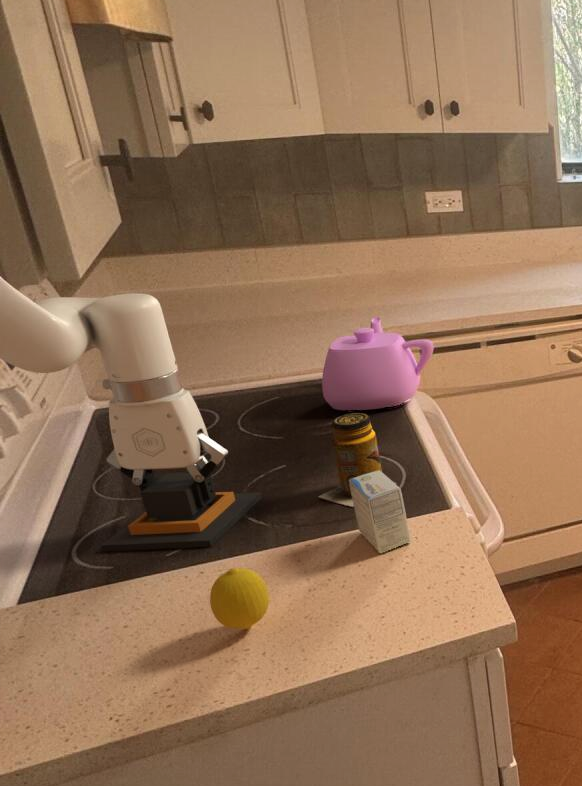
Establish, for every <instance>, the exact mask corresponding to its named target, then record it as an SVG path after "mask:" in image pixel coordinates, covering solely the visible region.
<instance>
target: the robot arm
mask: <svg viewBox="0 0 582 786" xmlns="http://www.w3.org/2000/svg"><path fill="white" fill-rule="evenodd" d="M168 331H169V330H168V327H167V324H166V320H165V316H164V313H163V309H162V306H161V304H160V302H159V300H158V299H157V298H156V297H155V296H154V295H151V294H148V293H141V292H140V293H138V292H136V293H133V292H132V293H122V294H114V295H109V296H104V297H75V296H74V297H71V296H59V297H49V298H48V297H47V298H44V299H41V300H38V301H36V302H34V301H33V300H31V299H30V298H29V297H27V296H26V295H24V294H23V293H22V292H20V291H19V290H18V289H16V288H15V287H14V286H13V285H11V284H10V283H9V282H7V281H6V280H5V279H4V278H3V277H2V276H0V360H2V361H4V362H5V363H7V364H10V365H12V366H13V367H15V368H19V369H21V370H24V371H27V372H31V373H38V374H51V373H52V374H53V373H56V372H60V371H63V370H65V369H68V368H69V367H70V366H73V365H74V364H75V363H76V362H77V361H78V360H79V359H80V358H81V357H82V355H84V354H85V353H87V352H89V351H91V350H93V349H97V350H99V352H100V355H101V358H102V362H103V365H104V368H105V371H106V375H107V379H104V380H102V382H101V384H102V388H103V389H105V390H111V392H112V395H113V398H111V399H110V400H109V401H108V418H109V420H108V421H109V428H110V429H109V430H110V433H111V440H112V443H113V450H112V451H111V453H110V454H109V455H108V456H107V457H106V462H107V463H108V464H110V465H111V466H113V467H114V468H116V469H118V470H120V472H121V473H122V474H123V475H125V476H127V477H128V478H130V479H131V480H132V483H133V484H134V485H137V486H139V489H140V492H142V491H143V490H145V489H146V488H147V487H149V486H150V485H151V484H153V483H154V482H155V481H157V480H158V479H160V478H161V476H159V474H155V470H167V469H168V470H169V469H184V468H185V469H186V471H187V473H190V474H191V476H192V477H193V478H194V480H195V481H194V482H193V483H192V487H193V491H194V494H195V498H196V501H197V505H198V507H199V508H203V507H205V506H206V505H208V504H209V503H210V502H211V501H212V500H213V499H214V498H215V492H216V490H215V487H214V483H213V479H212V474H214V472H215V470H216V469H217V468H218V467H219V466H220V465H221V464H222V462H223V461H224V460H225V459H226V457H227V456H228V455H229V451H228V449H227V448H224V447H223V446H222V445H220V444H219V443H217V442H216V441H215V440H213V439H211V438H210V437H209V434H208V431H207V427H206V425H205V422H204V419H203V417H202V414H201V412H200V410H199V408H198V405H197V403H196V401H195V399H194V397H193V395H192V394H191V393H190V391H189V390H188V389H185V388H184V386H183V382H182V378H181V374H180V371H179V368H178V363H177V360H176V357H175V353H174V350H173V346H172V342H171V339H170V335H169V332H168ZM208 454H209V455H210V458H209V460H208V459H207V458H206V457H205V455H206V456H207V455H208Z"/></svg>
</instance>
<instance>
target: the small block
mask: <svg viewBox="0 0 582 786" xmlns="http://www.w3.org/2000/svg"><path fill="white" fill-rule="evenodd" d="M194 481H195V480H194V478H193V477H192V476H191V474H190V473H189V472H170V473H169V472H167V473H165V474H163V475H162V476H160V479H158V480H157V481H155V482H154V483H153V484H151V485H150V486H149V487H147V488H146V489H145V490H143V491H142V492H141V491H140V492H139V494H140V497H141V500H142V504H143V507H144V511H145V510H146V513H147V516H148V518H158V517H180V516H193V515H195V514H196V513H197V512H198V511H199V510H200V509H202V508H199V507H198V505H197V501H196V498H195V494H194V491H193V487H192V483H193V482H194ZM215 496H216V493H215Z"/></svg>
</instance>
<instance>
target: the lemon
mask: <svg viewBox="0 0 582 786" xmlns="http://www.w3.org/2000/svg"><path fill="white" fill-rule="evenodd" d="M209 597H210V598H209V603H210V604H209V605H210V608H211V612H212V614H213V616H214V618H215V619H216V621H217V622H218V623H219V624H221V625H223V626H224V627H226V628H228V629H232V630H241V629H242V630H249V629H251V628H252V626H253V625H255V624H257V623H258V622H260V620H262V619H263V617H264V616H265V615H266V613H267V611H268V608H269V605H270V594H269V590H268V587H267V584H266V583H265V581H264V579H263V578H262V576H261V575H260V574H259V573H257V572H256V571H254V570H252V569H249V568H245V567H243V568H242V567H239V568H237V567H236V568H235V567H232V568H231V567H230V568H229V569H228V570H227V571H225V572H223V573H221V574H220V575H219V576H218V577H217V578H216V579H215V581H214V583H213V584H212V586H211V590H210V595H209Z"/></svg>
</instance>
